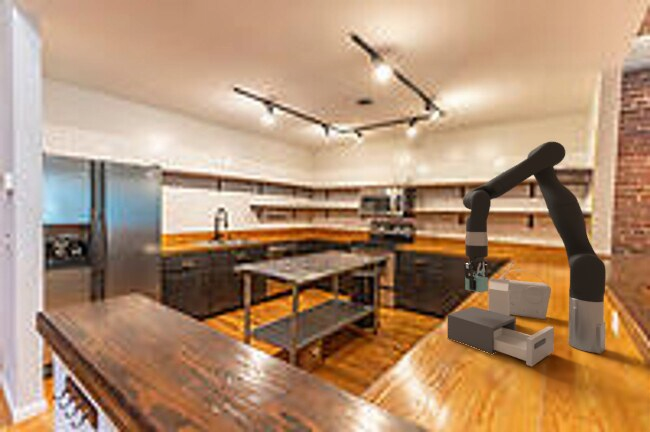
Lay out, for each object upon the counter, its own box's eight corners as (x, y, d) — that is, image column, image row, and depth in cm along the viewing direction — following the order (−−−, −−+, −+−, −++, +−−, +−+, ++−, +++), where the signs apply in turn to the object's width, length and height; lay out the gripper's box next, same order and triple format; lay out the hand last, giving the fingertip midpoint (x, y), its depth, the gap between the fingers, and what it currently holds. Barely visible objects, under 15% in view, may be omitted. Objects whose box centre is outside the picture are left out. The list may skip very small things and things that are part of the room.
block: (488, 290, 110) (487, 277, 110) (481, 292, 107) (481, 278, 107) (472, 287, 115) (472, 274, 115) (465, 289, 112) (465, 276, 112)
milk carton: (507, 327, 123) (507, 281, 123) (488, 323, 128) (488, 279, 128) (509, 322, 129) (509, 278, 129) (490, 318, 133) (491, 276, 133)
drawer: (554, 351, 99) (554, 327, 99) (532, 366, 88) (532, 340, 88) (502, 335, 112) (502, 314, 112) (478, 346, 102) (478, 323, 102)
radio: (494, 313, 140) (495, 261, 141) (494, 309, 148) (494, 259, 148) (552, 321, 130) (552, 265, 130) (548, 316, 138) (548, 262, 138)
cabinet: (515, 342, 108) (515, 317, 108) (491, 354, 98) (491, 327, 98) (472, 328, 121) (472, 306, 121) (447, 338, 111) (447, 314, 111)
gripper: (476, 245, 104) (476, 294, 104) (495, 243, 112) (496, 288, 112) (456, 244, 110) (456, 289, 110) (476, 242, 119) (476, 284, 118)
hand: (476, 288), depth 111 cm, fingers closed on block, 5 cm apart
